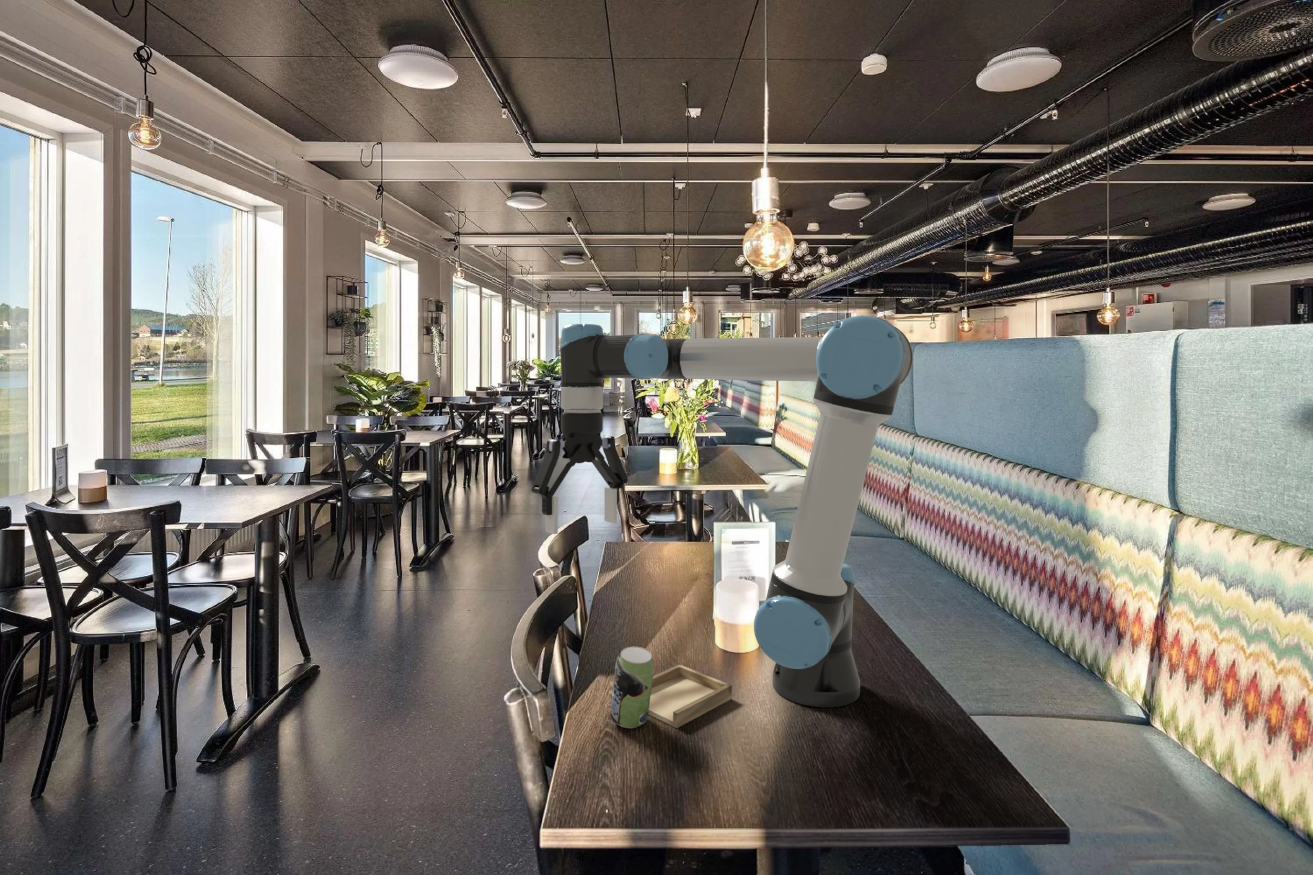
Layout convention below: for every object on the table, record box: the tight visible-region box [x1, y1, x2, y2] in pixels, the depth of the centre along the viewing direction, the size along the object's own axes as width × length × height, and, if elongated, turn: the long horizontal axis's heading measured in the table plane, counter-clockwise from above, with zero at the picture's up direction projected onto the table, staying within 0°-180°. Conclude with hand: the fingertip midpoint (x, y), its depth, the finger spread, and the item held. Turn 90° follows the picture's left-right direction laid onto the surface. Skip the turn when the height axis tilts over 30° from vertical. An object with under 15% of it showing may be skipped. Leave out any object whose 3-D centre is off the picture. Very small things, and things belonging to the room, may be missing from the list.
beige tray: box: [648, 664, 733, 729], centre depth 117 cm, size 12×14×2 cm
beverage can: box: [609, 645, 655, 729], centre depth 108 cm, size 6×7×12 cm
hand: (582, 527), depth 126 cm, fingers open, 13 cm apart
